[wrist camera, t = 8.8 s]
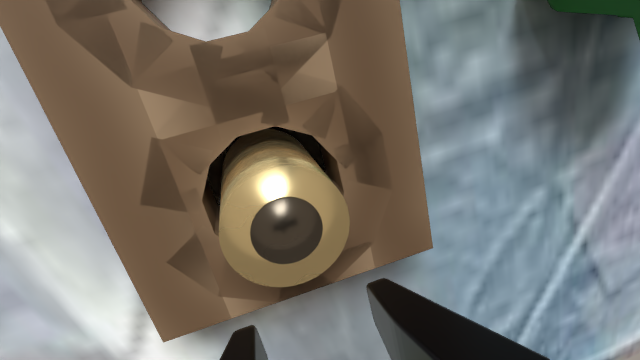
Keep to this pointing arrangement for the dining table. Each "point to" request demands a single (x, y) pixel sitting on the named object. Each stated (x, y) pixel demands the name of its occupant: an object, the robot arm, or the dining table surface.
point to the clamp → (601, 8)
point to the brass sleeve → (279, 211)
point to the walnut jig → (224, 133)
